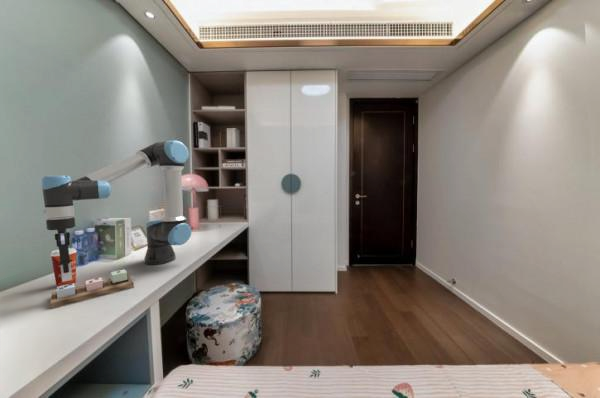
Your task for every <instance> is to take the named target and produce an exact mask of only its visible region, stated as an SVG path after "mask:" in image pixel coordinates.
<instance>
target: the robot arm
mask: <svg viewBox="0 0 600 398" xmlns="http://www.w3.org/2000/svg"><path fill="white" fill-rule="evenodd" d="M189 155H190V153H189V149H188V147H187V146H186V145H185V144H184V143H183V142H181V141H179V140H175V139H173V140H171V139H169V140H165V141H158V142H155V143H152V144H150V145H148V146H146V147H144V148H142V149H139V150H137V151H136V153H135V154H134V155H130V156H129V157H126V158H124V159H121V160H119V161H117V162H114V163H112V164H110V165H108V166H105V167H103V168H101V169H99V170H96V171H94V172H91V173H89V174H86V175H84V176H83V177H79V178H78V179H75V180H72V177H71V176H70V175H45V176H43V177H42V178H41V190H42V196H43V201H44V210H42V213H45V218H46V219H47V220H45V223H46V230H48V231H57V233H54V240H55V242H56V243H55V244H56V247H57V248H58V250H59V254H60V263H58V265H60V266H61V275H62V282H65V281H69V280H72V273H71V263H70V261H72V259H71V260H70V257H69V249H68V248H69V246H70V245H71V243H70V238H71V235H70V232H67V229H73V228H75V227H76V218H75V217H74V216H75V215H76V214H75V206H74V201H87V200H88V201H90V200H102V199H108V198H109V197H110V196H111V194H112V188H111V185H112V184H114V183H116V182H118V181H120V180H123V179H124V178H126V177H129V176H131V175H132V174H135V173H137V172H139V171H142V169H151V168H152V167H155V166H159V168H160V169H161V170H162V181H163V182H162V183H163V205H164V207H163V208H164V217H163V218H161V219H160V218H159V219H154V220H148V221H147V222H146V226H145V231H146V245H147V249H146V251H145V256H144V261H143V262H144V264H145V265H148V266H149V265H151V266H152V265H161V264H162V265H163V264H167V263H170V262H173V261H175V260H176V252H175V250H174V248H173V246H182V245H185V244H186V243H187V242H188V241H189V240H190V238H191V235H192V227H191V226H190V225H189V224H188V223H187V218H186V216H184V206H183V205H184V204H183V203H184V202H183V199H184V198H183V177H182V175H183V173H182V172H183V170H184V169H185V163H186V162H187V161H188V159H189V157H190V156H189Z"/></svg>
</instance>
